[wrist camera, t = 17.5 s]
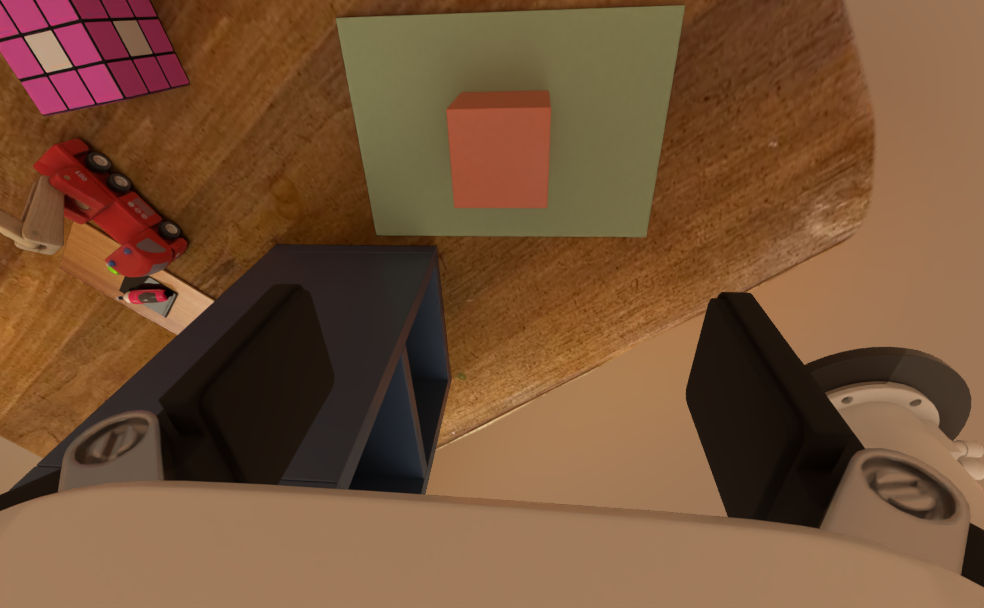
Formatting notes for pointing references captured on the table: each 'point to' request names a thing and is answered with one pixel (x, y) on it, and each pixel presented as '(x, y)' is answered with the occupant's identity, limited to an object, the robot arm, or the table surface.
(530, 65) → the play mat
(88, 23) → the puzzle toy
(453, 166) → the toy block
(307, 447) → the shelf
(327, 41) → the table surface
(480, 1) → the table surface
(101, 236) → the board
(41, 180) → the toy fire truck
